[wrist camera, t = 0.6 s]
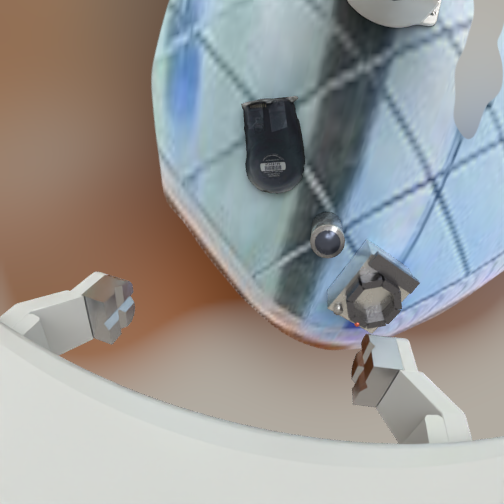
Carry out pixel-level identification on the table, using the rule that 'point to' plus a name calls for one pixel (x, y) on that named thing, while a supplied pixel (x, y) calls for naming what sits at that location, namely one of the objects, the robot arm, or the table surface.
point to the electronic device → (273, 144)
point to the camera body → (371, 288)
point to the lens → (327, 235)
